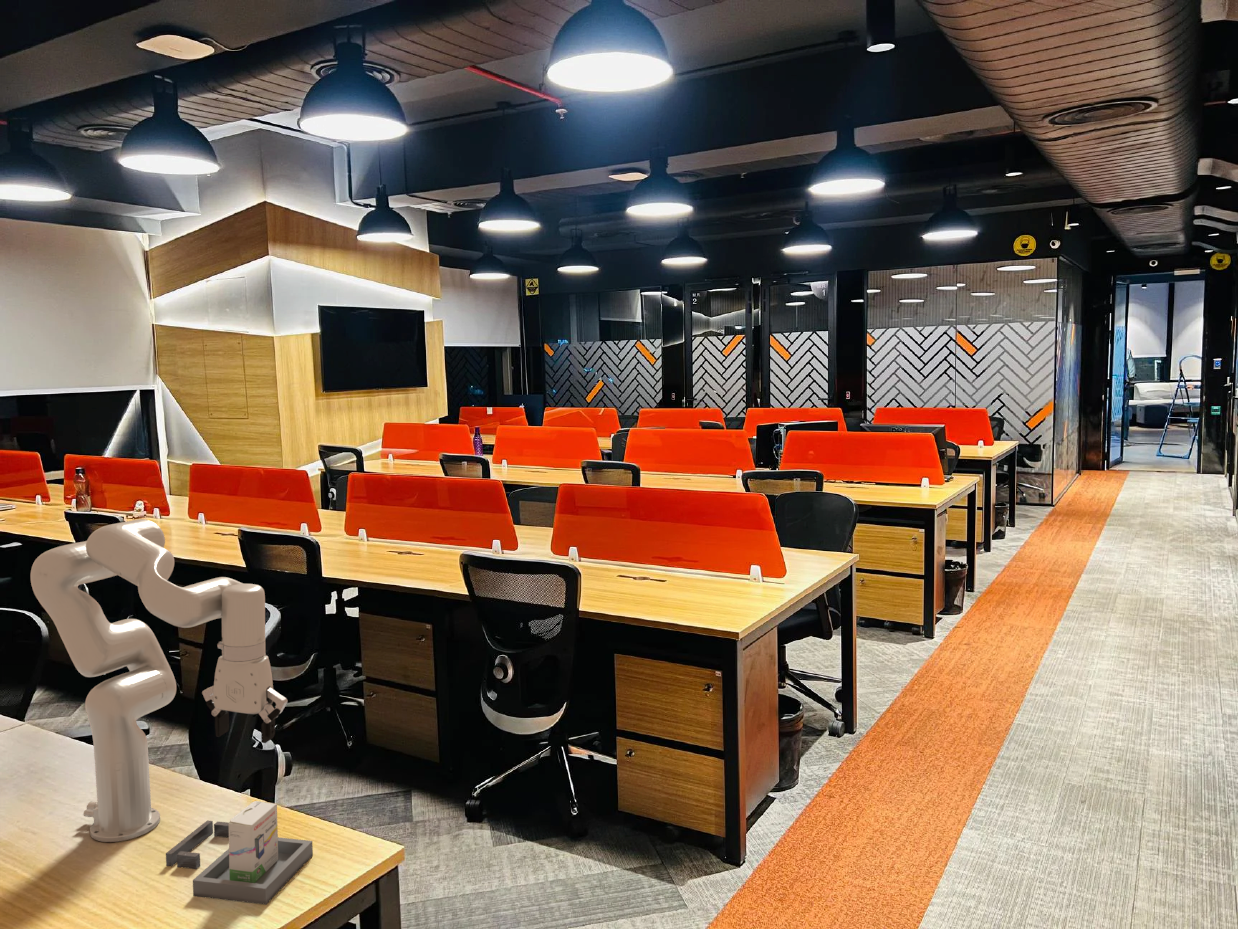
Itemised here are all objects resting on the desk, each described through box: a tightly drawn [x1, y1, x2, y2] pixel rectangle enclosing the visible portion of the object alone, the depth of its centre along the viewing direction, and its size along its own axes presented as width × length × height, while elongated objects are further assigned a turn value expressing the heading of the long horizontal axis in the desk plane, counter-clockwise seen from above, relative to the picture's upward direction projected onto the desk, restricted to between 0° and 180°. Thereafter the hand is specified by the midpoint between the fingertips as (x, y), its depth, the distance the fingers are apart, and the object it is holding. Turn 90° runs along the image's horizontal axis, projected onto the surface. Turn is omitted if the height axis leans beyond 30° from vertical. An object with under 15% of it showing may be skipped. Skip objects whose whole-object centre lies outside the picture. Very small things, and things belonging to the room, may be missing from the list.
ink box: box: [228, 800, 279, 883], centre depth 166 cm, size 9×5×12 cm, turn 169°
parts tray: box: [192, 836, 314, 906], centre depth 167 cm, size 14×16×3 cm
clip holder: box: [165, 820, 229, 870], centre depth 175 cm, size 6×13×2 cm, turn 170°
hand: (245, 737), depth 171 cm, fingers open, 9 cm apart
